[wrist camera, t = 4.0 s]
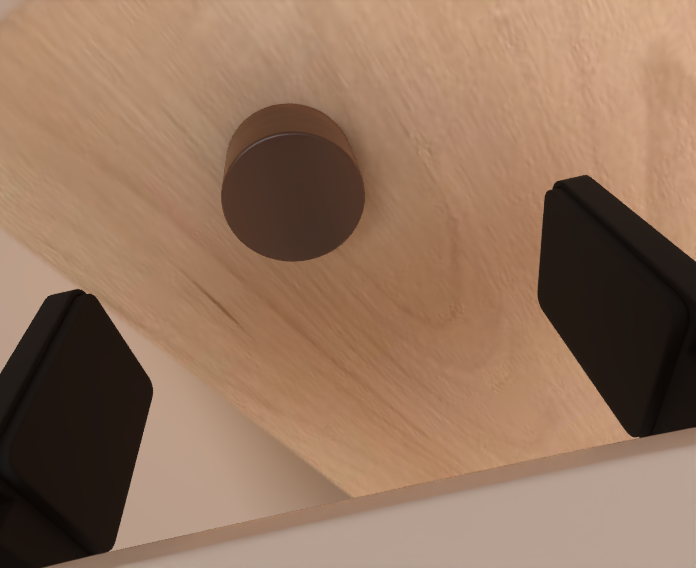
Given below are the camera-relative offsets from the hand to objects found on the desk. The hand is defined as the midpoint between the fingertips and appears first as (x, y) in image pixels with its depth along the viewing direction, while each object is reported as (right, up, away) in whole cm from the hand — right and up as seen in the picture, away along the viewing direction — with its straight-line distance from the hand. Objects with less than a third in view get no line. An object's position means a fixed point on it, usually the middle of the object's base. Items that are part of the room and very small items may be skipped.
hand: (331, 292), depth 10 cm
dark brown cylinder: (-1, +4, +5) cm, 7 cm away
